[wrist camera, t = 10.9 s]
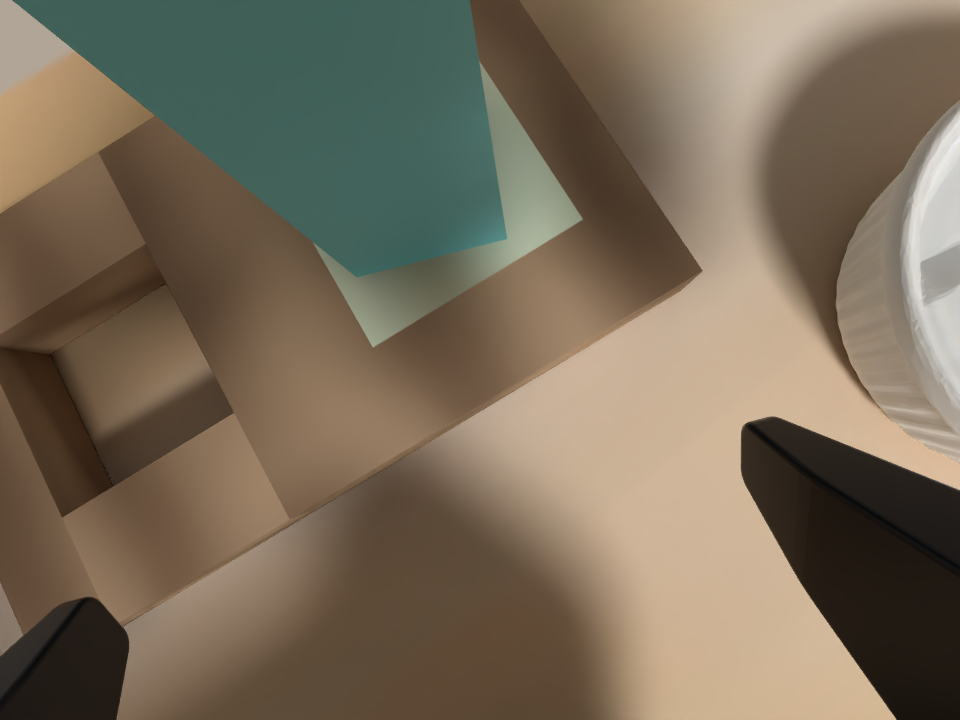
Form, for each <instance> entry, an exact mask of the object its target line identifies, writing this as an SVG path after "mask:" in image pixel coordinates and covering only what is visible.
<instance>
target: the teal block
mask: <svg viewBox="0 0 960 720" xmlns="http://www.w3.org/2000/svg"><path fill="white" fill-rule="evenodd" d="M13 1H14V2H15V3H16V4H18V5H19V6H20V7H21V8H23V9H24V10H25V11H26V12H28V13H29V14H30V15H31V16H33V17H34V18H35V19H36V20H38V21H39V22H40V23H41V24H43V25H44V26H45V27H46V28H47V29H49V30H50V31H51V32H53V33H54V34H55V35H56V36H57V37H59V38H60V39H61V40H62V41H64V42H65V43H66V44H67V45H69V46H70V47H71V48H72V49H74V50H75V51H76V52H77V53H78V54H80V55H81V56H82V57H83V58H85V59H86V60H87V61H88V62H90V63H91V64H92V65H93V66H95V67H96V68H97V69H98V70H100V71H101V72H102V73H103V74H105V75H106V76H107V77H108V78H110V79H111V80H112V81H113V82H115V83H116V84H117V85H118V86H119V87H121V88H122V89H123V90H124V91H126V92H127V93H128V94H129V95H131V96H132V97H133V98H134V99H136V100H137V101H138V102H139V103H141V104H142V105H143V106H144V107H146V108H147V109H148V110H149V111H151V112H152V113H153V114H154V115H156V116H157V117H158V118H159V119H160V120H162V121H163V122H164V123H165V124H167V125H168V126H169V127H170V128H172V129H173V130H174V131H175V132H177V133H178V134H179V135H180V136H182V137H183V138H184V139H185V140H187V141H188V142H189V143H190V144H192V145H193V146H194V147H195V148H197V149H198V150H199V151H200V152H201V153H203V154H204V155H205V156H206V157H208V158H209V159H210V160H211V161H213V162H214V163H215V164H216V165H218V166H219V167H220V168H221V169H223V170H224V171H225V172H226V173H228V174H229V175H230V176H231V177H233V178H234V179H235V180H236V181H238V182H239V183H240V184H241V185H242V186H244V187H245V188H246V189H247V190H249V191H250V192H251V193H252V194H254V195H255V196H256V197H257V198H259V199H260V200H261V201H262V202H264V203H265V204H266V205H267V206H269V207H270V208H271V209H272V210H274V211H275V212H276V213H277V214H279V215H280V216H281V217H282V218H284V219H285V220H286V221H287V222H288V223H290V224H291V225H292V226H293V227H295V228H296V229H297V230H298V231H300V232H301V233H302V234H303V235H305V236H306V237H307V238H308V239H310V240H311V241H312V242H313V243H315V244H316V245H317V246H318V247H320V248H321V249H322V250H323V251H325V252H326V253H327V254H328V255H329V256H331V257H332V258H333V259H334V260H336V261H337V262H338V263H339V264H341V265H342V266H343V267H344V268H346V269H347V270H348V271H349V272H351V273H352V274H353V275H354V276H356V277H360V276H364V275H368V274H372V273H376V272H380V271H384V270H388V269H392V268H396V267H399V266H403V265H407V264H411V263H415V262H419V261H423V260H427V259H431V258H435V257H439V256H443V255H446V254H450V253H454V252H458V251H462V250H466V249H470V248H474V247H478V246H482V245H486V244H490V243H494V242H497V241H501V240H505V239H507V235H506V229H505V222H504V216H503V209H502V203H501V197H500V190H499V184H498V177H497V171H496V165H495V158H494V152H493V146H492V139H491V133H490V126H489V120H488V114H487V107H486V101H485V95H484V88H483V82H482V75H481V69H480V63H479V56H478V50H477V43H476V37H475V31H474V24H473V18H472V12H471V5H470V0H13Z"/></svg>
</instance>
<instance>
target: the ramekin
mask: <svg viewBox="0 0 960 720" xmlns="http://www.w3.org/2000/svg"><path fill="white" fill-rule="evenodd" d="M836 309H837V313H838V326H839V329H840V332H841V336H842V341H843V345H844V347H845V349H846V351H847V354H848V357H849V361H850V363H851V365H852V367H853V368H854V370H855V371H856V373H857V375H858V377H859V380H860V382H861V383H862V385H863V386H864V387H865V388H866V389H867V390H868V392H869V393H870V395H871V397H872V398H873V400H874V401H875V403H876V404H877V405H878V406H879V407H880V408H881V409H883V411H884V412H885V414H886V415H887V416H888V417H889V419H890V420H891V421H893V422H894V423H896V424H898V425H899V426H900V427H901V428H902V429H903V431H904V432H905V433H907V434H908V435H909V436H910V437H912V438H914V439H916V440H918V441H920V442H922V443H923V444H924V445H925V446H926V447H928V448H930V449H931V450H933V451H936V452H938V453H941V454H944V455H945V456H947V457H948V458H950V459H952V460H954V461H956V462H959V463H960V100H959V101H958V102H957V103H956V104H954V105H953V106H952V107H951V108H950V109H949V110H948V111H947V112H946V113H945V114H944V115H943V116H942V117H941V118H940V119H939V120H938V121H937V122H936V123H935V124H934V125H933V126H932V127H931V129H930V130H929V131H928V132H927V134H926V135H925V136H924V138H923V139H922V140H921V141H920V143H919V144H918V146H917V147H916V149H915V150H914V152H913V153H912V155H911V157H910V158H909V160H908V162H907V164H906V165H905V167H904V169H903V170H902V171H901V172H900V173H899V175H898V176H897V177H896V178H895V179H894V180H893V181H892V182H891V183H890V184H889V186H888V187H887V188H886V189H885V190H884V191H883V192H882V193H881V194H880V196H879V197H878V198H877V199H876V200H875V201H874V202H873V204H872V205H871V206H870V207H869V209H868V211H867V213H866V214H865V216H864V217H863V218H862V220H861V221H860V222H859V224H858V225H857V227H856V230H855V233H854V235H853V237H852V238H851V240H850V242H849V243H848V246H847V250H846V254H845V256H844V259H843V261H842V263H841V269H840V274H839V276H838V279H837V298H836Z"/></svg>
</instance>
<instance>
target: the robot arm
mask: <svg viewBox="0 0 960 720" xmlns="http://www.w3.org/2000/svg"><path fill="white" fill-rule="evenodd" d="M741 473H742V477H743V480H744V483H745V485H746V487H747V489H748V491H749V492H750V494H751V496H752V498H753V500H754V501H755V503H756V505H757V507H758V508H759V510H760V512H761V514H762V516H763V517H764V519H765V521H766V523H767V525H768V526H769V528H770V530H771V532H772V533H773V535H774V537H775V539H776V541H777V542H778V544H779V546H780V548H781V550H782V551H783V553H784V555H785V557H786V558H787V560H788V562H789V564H790V566H791V567H792V569H793V571H794V573H795V574H796V576H797V578H798V579H799V581H800V583H801V584H802V586H803V587H804V589H805V590H806V592H807V593H808V595H809V596H810V598H811V599H812V601H813V602H814V604H815V605H816V607H817V608H818V609H819V611H820V612H821V614H822V615H823V616H824V618H825V619H826V621H827V622H828V623H829V625H830V626H831V628H832V629H833V631H834V632H835V633H836V635H837V636H838V638H839V639H840V640H841V642H842V643H843V645H844V646H845V647H846V649H847V650H848V652H849V653H850V655H851V656H852V657H853V659H854V660H855V662H856V663H857V664H858V666H859V667H860V669H861V670H862V671H863V673H864V674H865V676H866V677H867V679H868V680H869V681H870V683H871V684H872V686H873V687H874V688H875V690H876V691H877V693H878V694H879V696H880V697H881V698H882V700H883V701H884V703H885V704H886V705H887V707H888V708H889V710H890V711H891V712H892V714H893V715H894V717H895V718H896V720H960V490H958V489H955V488H953V487H950V486H948V485H945V484H943V483H940V482H938V481H935V480H933V479H930V478H928V477H925V476H923V475H920V474H918V473H915V472H913V471H911V470H908V469H906V468H903V467H901V466H898V465H896V464H893V463H891V462H888V461H886V460H883V459H881V458H878V457H876V456H873V455H871V454H868V453H866V452H863V451H861V450H858V449H856V448H853V447H851V446H848V445H846V444H843V443H841V442H838V441H836V440H833V439H831V438H828V437H826V436H823V435H821V434H818V433H816V432H813V431H811V430H808V429H806V428H803V427H801V426H798V425H796V424H793V423H791V422H788V421H786V420H783V419H781V418H778V417H766V418H762V419H759V420H755V421H751V422H748V423H746V424H744V426H743V427H742V431H741ZM128 653H129V639H128V635H127V633H126V631H125V629H124V628H123V627H122V626H121V625H120V623H119V622H118V621H117V620H116V619H115V618H114V616H113V615H112V614H111V613H110V612H109V611H108V610H107V608H106V607H105V606H104V605H103V604H102V603H101V602H100V601H99V600H98V599H96V598H94V597H83V598H80V599H76V600H72V601H68V602H64V603H62V604H60V605H58V606H56V607H55V608H54V609H52V610H51V611H50V612H49V613H48V614H47V615H46V616H45V617H43V618H42V619H41V620H40V621H39V622H38V623H37V624H36V625H35V626H33V627H32V628H31V629H30V630H29V631H28V632H27V633H26V634H25V635H24V636H22V637H21V638H20V639H19V640H18V641H17V642H16V643H15V644H14V645H12V646H11V647H10V648H9V649H8V650H7V651H6V652H5V653H4V654H2V655H1V656H0V720H116V719H117V713H118V708H119V702H120V697H121V691H122V686H123V680H124V675H125V669H126V664H127V658H128Z"/></svg>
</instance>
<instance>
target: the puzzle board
mask: <svg viewBox="0 0 960 720" xmlns="http://www.w3.org/2000/svg"><path fill="white" fill-rule="evenodd" d="M470 5H471V12H472V18H473V24H474V31H475V37H476V43H477V50H478V56H479V63H480V69H481V75H482V82H483V88H484V95H485V101H486V107H487V114H488V120H489V126H490V133H491V139H492V146H493V152H494V158H495V165H496V171H497V177H498V184H499V190H500V197H501V203H502V209H503V216H504V222H505V229H506V235H507V239H505V240H501V241H497V242H494V243H490V244H486V245H482V246H478V247H474V248H470V249H466V250H462V251H458V252H454V253H450V254H446V255H443V256H439V257H435V258H431V259H427V260H423V261H419V262H415V263H411V264H407V265H403V266H399V267H396V268H392V269H388V270H384V271H380V272H376V273H372V274H368V275H364V276H360V277H356V276H354V275H353V274H352V273H351V272H349V271H348V270H347V269H346V268H344V267H343V266H342V265H341V264H339V263H338V262H337V261H336V260H334V259H333V258H332V257H331V256H329V255H328V254H327V253H326V252H325V251H323V250H322V249H321V248H320V247H318V246H317V245H316V244H315V243H313V242H312V241H311V240H310V239H308V238H307V237H306V236H305V235H303V234H302V233H301V232H300V231H298V230H297V229H296V228H295V227H293V226H292V225H291V224H290V223H288V222H287V221H286V220H285V219H284V218H282V217H281V216H280V215H279V214H277V213H276V212H275V211H274V210H272V209H271V208H270V207H269V206H267V205H266V204H265V203H264V202H262V201H261V200H260V199H259V198H257V197H256V196H255V195H254V194H252V193H251V192H250V191H249V190H247V189H246V188H245V187H244V186H242V185H241V184H240V183H239V182H238V181H236V180H235V179H234V178H233V177H231V176H230V175H229V174H228V173H226V172H225V171H224V170H223V169H221V168H220V167H219V166H218V165H216V164H215V163H214V162H213V161H211V160H210V159H209V158H208V157H206V156H205V155H204V154H203V153H201V152H200V151H199V150H198V149H197V148H195V147H194V146H193V145H192V144H190V143H189V142H188V141H187V140H185V139H184V138H183V137H182V136H180V135H179V134H178V133H177V132H175V131H174V130H173V129H172V128H170V127H169V126H168V125H167V124H165V123H164V122H163V121H162V120H160V119H159V118H158V117H157V116H155V117H153V118H152V119H150V120H149V121H147V122H145V123H144V124H142V125H141V126H139V127H137V128H136V129H134V130H133V131H131V132H130V133H128V134H126V135H125V136H123V137H122V138H120V139H118V140H117V141H115V142H114V143H112V144H110V145H109V146H107V147H106V148H104V149H103V150H101V151H99V152H98V153H96V154H95V155H93V156H91V157H90V158H88V159H87V160H85V161H83V162H82V163H80V164H79V165H77V166H76V167H74V168H72V169H71V170H69V171H68V172H66V173H64V174H63V175H61V176H60V177H58V178H56V179H55V180H53V181H52V182H50V183H49V184H47V185H45V186H44V187H42V188H41V189H39V190H37V191H36V192H34V193H33V194H31V195H29V196H28V197H26V198H25V199H23V200H21V201H20V202H18V203H17V204H15V205H14V206H12V207H10V208H9V209H7V210H6V211H4V212H2V213H1V214H0V582H1V584H2V586H3V589H4V591H5V593H6V596H7V598H8V600H9V603H10V605H11V607H12V609H13V612H14V614H15V616H16V619H17V621H18V623H19V625H20V628H21V630H22V632H23V635H25V634H26V633H27V632H28V631H29V630H30V629H31V628H32V627H33V626H35V625H36V624H37V623H38V622H39V621H40V620H41V619H42V618H43V617H45V616H46V615H47V614H48V613H49V612H50V611H51V610H52V609H54V608H55V607H56V606H58V605H60V604H62V603H64V602H68V601H72V600H76V599H80V598H83V597H94V598H96V599H98V600H99V601H100V602H101V603H102V604H103V605H104V606H105V607H106V608H107V610H108V611H109V612H110V613H111V614H112V615H113V616H114V618H115V619H116V620H117V621H118V622H119V623H120V625H121V626H122V627H123V626H124V625H126V624H128V623H129V622H131V621H133V620H134V619H136V618H138V617H139V616H141V615H143V614H144V613H146V612H148V611H149V610H151V609H153V608H154V607H156V606H158V605H159V604H161V603H162V602H164V601H166V600H167V599H169V598H171V597H172V596H174V595H176V594H177V593H179V592H181V591H182V590H184V589H186V588H187V587H189V586H191V585H192V584H194V583H196V582H197V581H199V580H201V579H202V578H204V577H206V576H207V575H209V574H211V573H212V572H214V571H216V570H217V569H219V568H221V567H222V566H224V565H226V564H227V563H229V562H231V561H232V560H234V559H236V558H237V557H239V556H241V555H242V554H244V553H246V552H247V551H249V550H251V549H252V548H254V547H256V546H257V545H259V544H261V543H262V542H264V541H266V540H267V539H269V538H270V537H272V536H274V535H275V534H277V533H279V532H280V531H282V530H284V529H285V528H287V527H289V526H290V525H292V524H294V523H295V522H297V521H299V520H300V519H302V518H304V517H305V516H307V515H309V514H310V513H312V512H314V511H315V510H317V509H319V508H320V507H322V506H324V505H325V504H327V503H329V502H330V501H332V500H334V499H335V498H337V497H339V496H340V495H342V494H344V493H345V492H347V491H349V490H350V489H352V488H354V487H355V486H357V485H359V484H360V483H362V482H364V481H365V480H367V479H369V478H370V477H372V476H374V475H375V474H377V473H379V472H380V471H382V470H383V469H385V468H387V467H388V466H390V465H392V464H393V463H395V462H397V461H398V460H400V459H402V458H403V457H405V456H407V455H408V454H410V453H412V452H413V451H415V450H417V449H418V448H420V447H422V446H423V445H425V444H427V443H428V442H430V441H432V440H433V439H435V438H437V437H438V436H440V435H442V434H443V433H445V432H447V431H448V430H450V429H452V428H453V427H455V426H457V425H458V424H460V423H462V422H463V421H465V420H467V419H468V418H470V417H472V416H473V415H475V414H477V413H478V412H480V411H482V410H483V409H485V408H487V407H488V406H490V405H491V404H493V403H495V402H496V401H498V400H500V399H501V398H503V397H505V396H506V395H508V394H510V393H511V392H513V391H515V390H516V389H518V388H520V387H521V386H523V385H525V384H526V383H528V382H530V381H531V380H533V379H535V378H536V377H538V376H540V375H541V374H543V373H545V372H546V371H548V370H550V369H551V368H553V367H555V366H556V365H558V364H560V363H561V362H563V361H565V360H566V359H568V358H570V357H571V356H573V355H575V354H576V353H578V352H580V351H581V350H583V349H585V348H586V347H588V346H590V345H591V344H593V343H595V342H596V341H598V340H600V339H601V338H603V337H604V336H606V335H608V334H609V333H611V332H613V331H614V330H616V329H618V328H619V327H621V326H623V325H624V324H626V323H628V322H629V321H631V320H633V319H634V318H636V317H638V316H639V315H641V314H643V313H644V312H646V311H648V310H649V309H651V308H653V307H654V306H656V305H658V304H659V303H661V302H663V301H664V300H666V299H668V298H669V297H671V296H673V295H674V294H676V293H678V292H679V291H681V290H682V289H683V288H684V287H685V286H686V285H687V284H688V283H690V282H691V281H692V280H693V279H694V278H695V277H696V276H697V275H698V274H700V273H701V272H702V269H701V268H700V266H699V265H698V263H697V262H696V260H695V259H694V257H693V256H692V255H691V253H690V252H689V250H688V249H687V247H686V246H685V244H684V243H683V241H682V240H681V238H680V237H679V235H678V234H677V232H676V231H675V230H674V228H673V227H672V225H671V224H670V222H669V221H668V219H667V218H666V216H665V215H664V213H663V212H662V210H661V209H660V207H659V206H658V205H657V203H656V202H655V200H654V199H653V197H652V196H651V194H650V193H649V191H648V190H647V188H646V187H645V185H644V184H643V182H642V181H641V180H640V178H639V177H638V175H637V174H636V172H635V171H634V169H633V168H632V166H631V165H630V163H629V162H628V160H627V159H626V157H625V156H624V154H623V153H622V152H621V150H620V149H619V147H618V146H617V144H616V143H615V141H614V140H613V138H612V137H611V135H610V134H609V132H608V131H607V129H606V128H605V127H604V125H603V124H602V122H601V121H600V119H599V118H598V116H597V115H596V113H595V112H594V110H593V109H592V107H591V106H590V104H589V103H588V102H587V100H586V99H585V97H584V96H583V94H582V93H581V91H580V90H579V88H578V87H577V85H576V84H575V82H574V81H573V79H572V78H571V76H570V75H569V74H568V72H567V71H566V69H565V68H564V66H563V65H562V63H561V62H560V60H559V59H558V57H557V56H556V54H555V53H554V51H553V50H552V49H551V47H550V46H549V44H548V43H547V41H546V40H545V38H544V37H543V35H542V34H541V32H540V31H539V29H538V28H537V26H536V25H535V24H534V22H533V21H532V19H531V18H530V16H529V15H528V13H527V12H526V10H525V9H524V7H523V6H522V4H521V3H520V1H519V0H470ZM165 283H166V284H167V285H168V287H169V289H170V291H171V293H172V295H173V297H174V299H175V301H176V303H177V305H178V307H179V308H180V310H181V312H182V314H183V316H184V318H185V320H186V322H187V324H188V326H189V328H190V330H191V331H192V333H193V335H194V337H195V339H196V341H197V343H198V345H199V347H200V349H201V351H202V353H203V354H204V356H205V358H206V360H207V362H208V364H209V366H210V368H211V370H212V372H213V374H214V376H215V377H216V379H217V381H218V383H219V385H220V387H221V389H222V391H223V393H224V395H225V397H226V398H227V400H228V402H229V404H230V406H231V408H232V410H233V412H234V413H233V414H231V415H230V416H228V417H226V418H225V419H223V420H221V421H220V422H218V423H217V424H215V425H213V426H212V427H210V428H208V429H207V430H205V431H203V432H202V433H200V434H198V435H197V436H195V437H194V438H192V439H190V440H189V441H187V442H185V443H184V444H182V445H180V446H179V447H177V448H176V449H174V450H172V451H171V452H169V453H167V454H166V455H164V456H162V457H161V458H159V459H158V460H156V461H154V462H153V463H151V464H149V465H148V466H146V467H144V468H143V469H141V470H139V471H138V472H136V473H135V474H133V475H131V476H130V477H128V478H126V479H125V480H123V481H121V482H120V483H118V484H117V485H115V486H112V483H111V481H110V479H109V477H108V475H107V473H106V471H105V469H104V467H103V465H102V463H101V460H100V458H99V456H98V454H97V452H96V450H95V448H94V446H93V444H92V442H91V440H90V437H89V435H88V433H87V431H86V429H85V427H84V425H83V423H82V421H81V419H80V417H79V414H78V412H77V410H76V408H75V406H74V404H73V402H72V400H71V398H70V396H69V394H68V391H67V389H66V387H65V385H64V383H63V381H62V379H61V377H60V375H59V373H58V371H57V368H56V366H55V364H54V362H53V360H52V358H51V356H50V354H52V353H53V352H55V351H56V350H58V349H60V348H61V347H63V346H65V345H66V344H68V343H69V342H71V341H73V340H74V339H76V338H77V337H79V336H81V335H82V334H84V333H86V332H87V331H89V330H90V329H92V328H94V327H95V326H97V325H98V324H100V323H102V322H103V321H105V320H107V319H108V318H110V317H111V316H113V315H115V314H116V313H118V312H119V311H121V310H123V309H124V308H126V307H127V306H129V305H131V304H132V303H134V302H136V301H137V300H139V299H140V298H142V297H144V296H145V295H147V294H148V293H150V292H152V291H153V290H155V289H157V288H158V287H160V286H161V285H163V284H165Z"/></svg>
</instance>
